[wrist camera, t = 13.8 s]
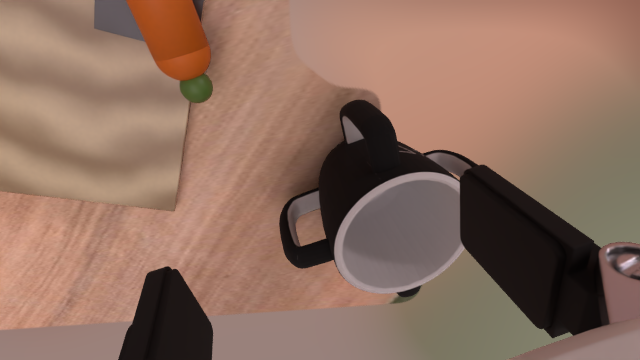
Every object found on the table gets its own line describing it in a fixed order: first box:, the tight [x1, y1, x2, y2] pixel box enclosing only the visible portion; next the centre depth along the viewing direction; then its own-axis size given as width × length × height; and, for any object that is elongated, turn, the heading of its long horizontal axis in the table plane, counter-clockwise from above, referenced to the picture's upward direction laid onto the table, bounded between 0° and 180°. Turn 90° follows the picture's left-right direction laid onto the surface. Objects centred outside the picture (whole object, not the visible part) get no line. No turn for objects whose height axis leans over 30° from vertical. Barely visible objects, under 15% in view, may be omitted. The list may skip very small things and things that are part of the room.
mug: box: [279, 100, 479, 297], centre depth 33 cm, size 16×16×12 cm
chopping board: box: [0, 0, 205, 211], centre depth 26 cm, size 22×20×2 cm
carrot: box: [126, 0, 213, 103], centre depth 23 cm, size 14×4×4 cm, turn 13°
